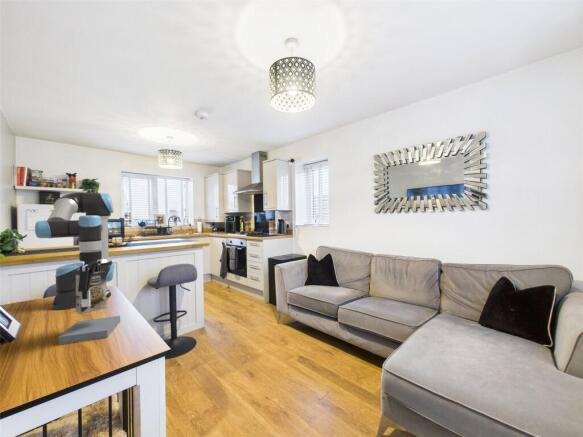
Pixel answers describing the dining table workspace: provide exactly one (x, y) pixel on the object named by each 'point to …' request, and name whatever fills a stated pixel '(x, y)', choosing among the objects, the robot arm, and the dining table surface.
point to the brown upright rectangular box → (93, 293)
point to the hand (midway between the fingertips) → (91, 302)
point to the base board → (90, 330)
